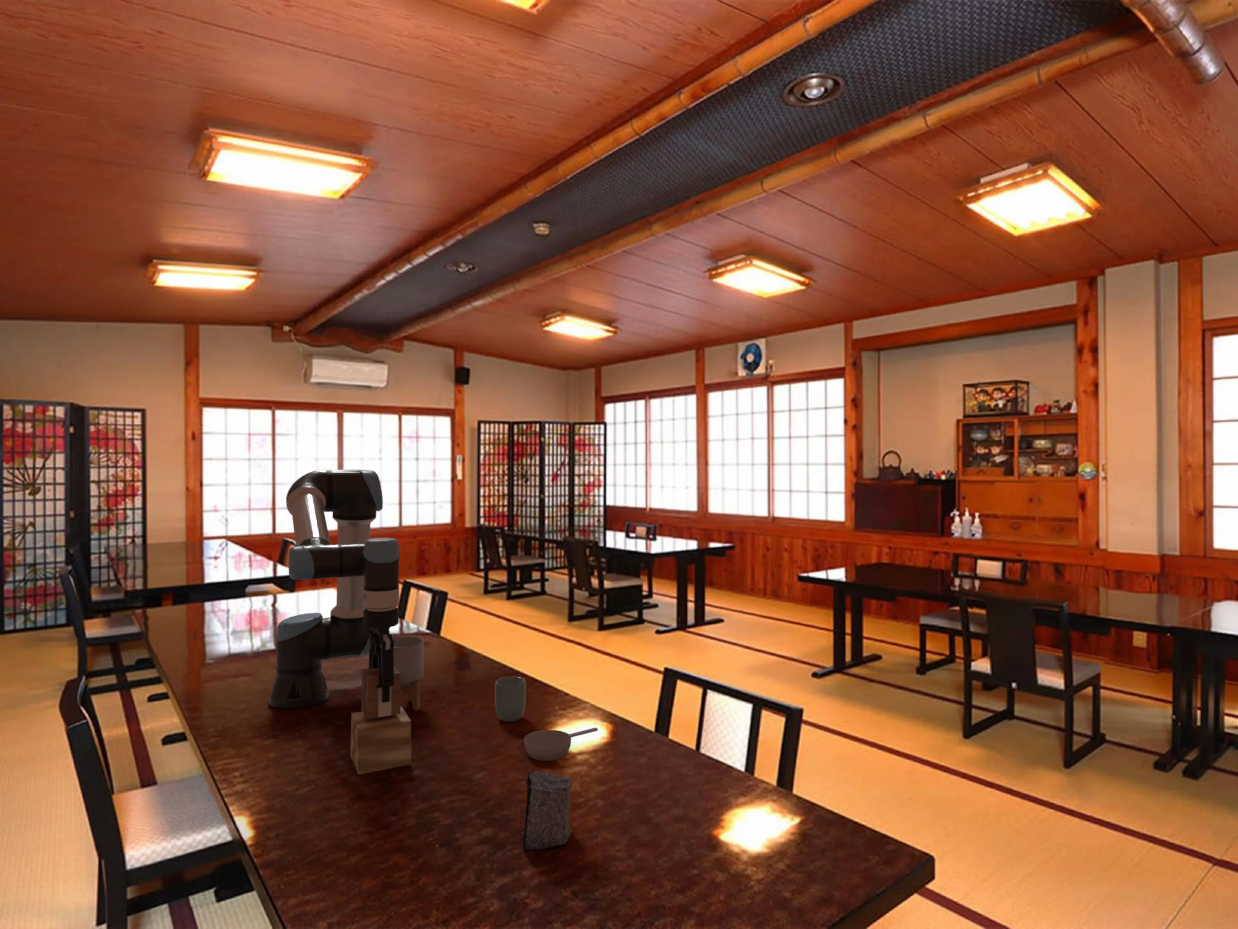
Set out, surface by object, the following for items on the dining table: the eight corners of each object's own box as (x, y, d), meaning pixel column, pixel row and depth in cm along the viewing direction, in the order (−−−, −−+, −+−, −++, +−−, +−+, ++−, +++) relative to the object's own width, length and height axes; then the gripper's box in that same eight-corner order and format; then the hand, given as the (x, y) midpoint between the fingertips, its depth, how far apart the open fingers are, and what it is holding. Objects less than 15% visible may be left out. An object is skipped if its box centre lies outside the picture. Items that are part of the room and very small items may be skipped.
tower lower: (350, 757, 164) (350, 735, 164) (400, 748, 169) (400, 727, 169) (358, 776, 154) (358, 752, 154) (410, 766, 159) (411, 743, 159)
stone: (510, 860, 124) (516, 815, 134) (566, 868, 125) (569, 823, 135) (522, 805, 121) (528, 763, 130) (580, 814, 122) (582, 771, 131)
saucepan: (517, 749, 168) (517, 733, 168) (587, 736, 177) (587, 720, 177) (534, 766, 159) (534, 749, 159) (607, 752, 167) (607, 735, 167)
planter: (432, 702, 201) (432, 638, 201) (404, 717, 188) (404, 649, 188) (393, 697, 205) (393, 634, 205) (362, 712, 193) (363, 645, 193)
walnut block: (361, 709, 163) (361, 669, 163) (393, 704, 167) (393, 665, 166) (367, 719, 157) (367, 677, 157) (400, 713, 160) (400, 673, 160)
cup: (519, 725, 183) (519, 686, 183) (490, 723, 185) (490, 684, 185) (529, 715, 191) (529, 677, 191) (501, 713, 192) (501, 675, 192)
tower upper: (351, 735, 164) (351, 713, 164) (400, 727, 169) (401, 705, 169) (357, 752, 154) (358, 729, 154) (410, 743, 159) (410, 721, 159)
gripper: (355, 601, 168) (354, 700, 168) (373, 618, 151) (372, 727, 151) (388, 599, 172) (387, 695, 172) (409, 614, 155) (408, 721, 155)
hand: (380, 710), depth 162 cm, fingers closed on walnut block, 7 cm apart
